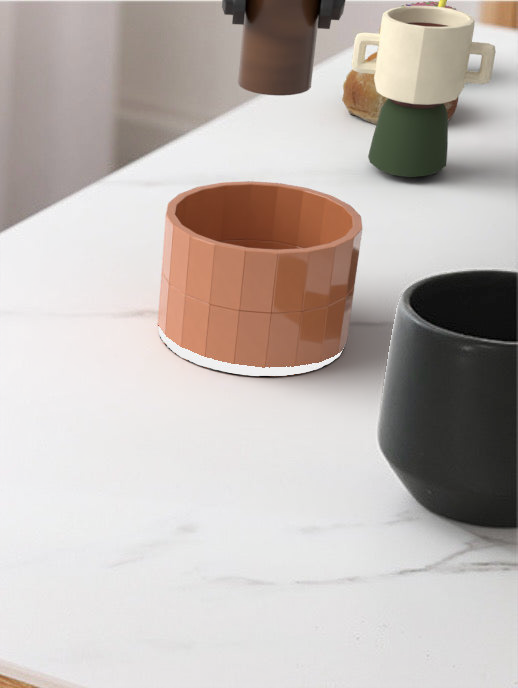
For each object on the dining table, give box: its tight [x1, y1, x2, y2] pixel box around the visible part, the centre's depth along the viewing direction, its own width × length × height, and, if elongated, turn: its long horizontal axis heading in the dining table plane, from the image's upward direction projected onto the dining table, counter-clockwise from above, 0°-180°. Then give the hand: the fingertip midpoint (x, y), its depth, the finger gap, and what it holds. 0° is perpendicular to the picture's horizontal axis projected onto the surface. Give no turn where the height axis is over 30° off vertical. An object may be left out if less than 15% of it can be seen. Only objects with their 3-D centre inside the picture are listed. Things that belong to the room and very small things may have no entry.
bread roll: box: [341, 51, 459, 126], centre depth 143 cm, size 10×10×8 cm
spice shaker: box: [237, 0, 320, 97], centre depth 95 cm, size 4×4×8 cm
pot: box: [157, 180, 363, 368], centre depth 102 cm, size 12×12×8 cm
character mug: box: [351, 5, 496, 178], centre depth 128 cm, size 11×7×13 cm, turn 69°
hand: (282, 18), depth 93 cm, fingers closed on spice shaker, 4 cm apart
